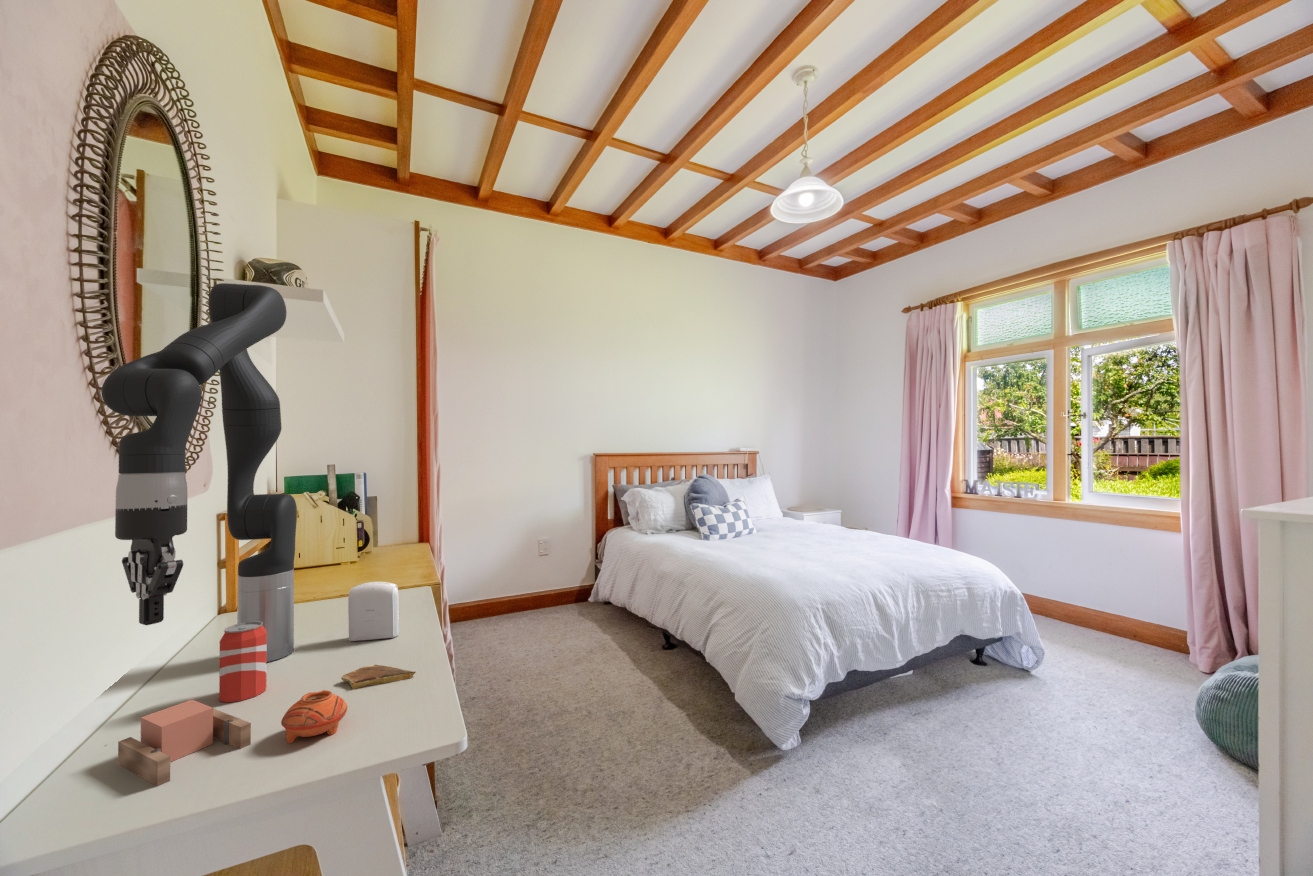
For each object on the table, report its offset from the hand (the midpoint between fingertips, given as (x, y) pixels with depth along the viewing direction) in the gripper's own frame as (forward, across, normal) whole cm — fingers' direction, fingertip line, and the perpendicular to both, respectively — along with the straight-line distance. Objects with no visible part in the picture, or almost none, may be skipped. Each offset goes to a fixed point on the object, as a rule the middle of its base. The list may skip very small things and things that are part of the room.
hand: (151, 623), depth 74 cm
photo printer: (+17, -9, +41) cm, 45 cm away
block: (+16, +8, 0) cm, 18 cm away
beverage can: (+17, -3, +13) cm, 22 cm away
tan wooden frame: (+17, +12, 0) cm, 21 cm away
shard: (+18, +11, +28) cm, 35 cm away
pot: (+17, +21, +10) cm, 29 cm away
